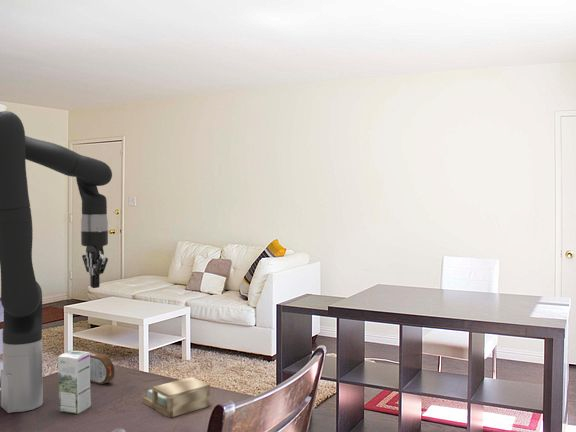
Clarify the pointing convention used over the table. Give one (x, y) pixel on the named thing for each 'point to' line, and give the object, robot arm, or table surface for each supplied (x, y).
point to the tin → (100, 368)
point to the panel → (161, 398)
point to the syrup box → (74, 381)
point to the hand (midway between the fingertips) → (95, 287)
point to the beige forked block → (180, 397)
